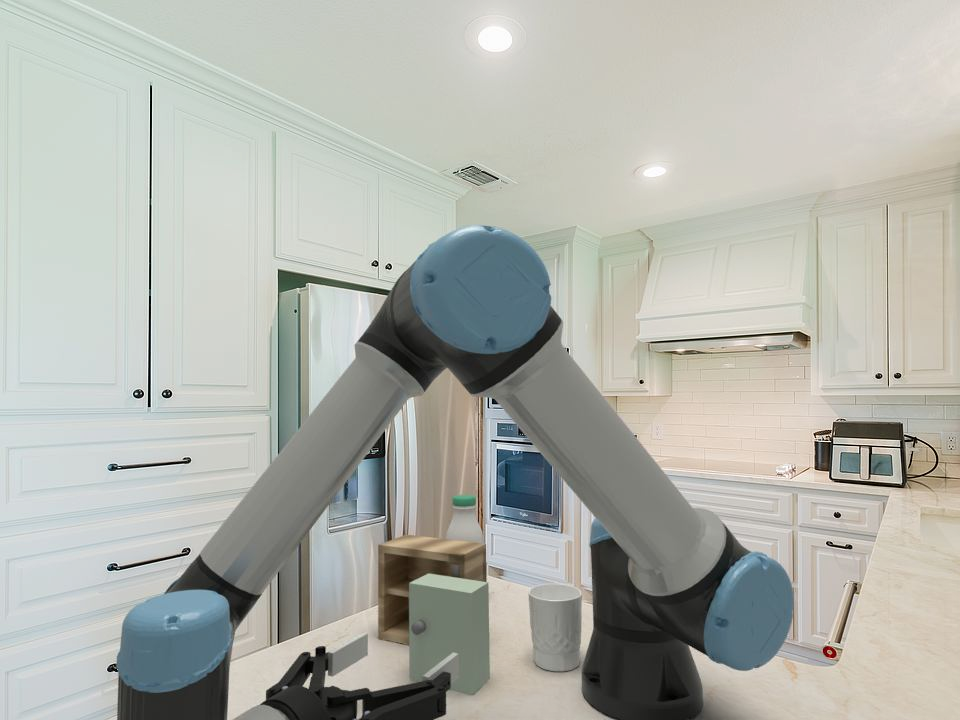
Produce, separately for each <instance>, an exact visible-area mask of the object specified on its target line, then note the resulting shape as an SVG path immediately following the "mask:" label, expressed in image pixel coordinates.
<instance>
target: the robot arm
mask: <svg viewBox="0 0 960 720" xmlns="http://www.w3.org/2000/svg"><path fill="white" fill-rule="evenodd" d="M551 284H552V283H551V278H550V276H549V273H548V270H547V268H546V265H545V264H544V261H543V260H542V259H541V257H540V256H539V254H538V253H537V251H536V250H535V249H534V248H533V247H532V246H531V245H530V244H529V243H528V242H527V241H525V239H523V238H521V237H520V236H518V235H517V234H515V233H513V232H512V231H509V230H507V229H504V228H501V227H498V226H493V225H491V226H490V225H486V224H484V225H482V224H474V225H466V226H462V227H459V228H456V229H454V230H451V232H448V233H446V234H445V235H443V236H441V237H440V238H438V239H437V240H436V241H433V242H432V243H430V244H428V246H427V248H425V250H424V251H423V252H422V253H421V254H419V255H418V257H417V258H416V260H415V261H414V262H413V263H411V265H410V266H409V267H408V268H407V269H406V270H404V271H403V273H402V274H401V275H400V276H399V277H398V278H397V280H396V281H395V283H394V285H393V286H392V288H391V290H390V291H389V293H388V294H387V296H386V298H385V299H384V302H383V303H382V305H381V306H380V309H379V310H378V312H377V313H376V315H375V316H374V318H373V320H371V323H370V324H369V325H368V327H367V328H366V329H365V331H364V332H363V334H362V335H361V336H360V337H359V339H358V340H357V341H356V342H355V343H354V345H353V346H354V352H355V353H354V354H355V358H354V359H353V360H352V361H351V363H350V365H349V366H348V367H347V368H346V369H345V371H344V372H343V373H342V374H341V376H339V378H338V379H337V381H335V383H334V384H333V385H332V386H331V388H330V389H329V391H328V392H327V393H326V395H325V396H324V397H323V398H322V399H321V400H320V401H319V403H318V404H317V406H316V407H315V408H314V409H313V410H312V412H311V413H310V415H309V416H308V417H307V418H306V419H305V420H304V422H303V423H302V424H301V425H300V427H299V428H298V429H297V431H296V432H295V433H294V434H293V436H292V437H290V440H289V441H287V443H286V444H285V445H284V447H283V448H282V449H281V451H280V452H279V453H278V454H277V456H276V457H275V458H274V459H273V460H272V462H271V463H270V464H269V465H268V467H266V469H265V470H264V472H263V473H262V474H261V476H259V478H258V479H257V481H256V482H255V483H254V484H253V486H251V488H250V489H249V491H247V493H246V494H245V495H244V496H243V498H242V499H241V501H240V502H239V503H238V504H237V505H236V507H235V508H234V509H233V511H232V512H231V513H230V514H229V515H228V517H227V518H226V519H225V521H223V523H222V524H221V525H220V526H219V528H218V529H217V531H215V533H214V534H213V535H212V537H211V538H210V539H209V540H208V541H207V543H206V544H205V545H204V547H203V548H201V550H200V552H199V554H198V555H197V557H195V559H194V560H193V561H192V562H191V563H190V564H189V566H188V567H187V568H186V569H185V571H183V573H182V574H181V576H180V577H178V578H177V579H176V580H174V581H173V582H171V584H170V585H169V587H168V588H167V589H166V590H165V592H163V594H160V595H157V596H154V597H150V598H148V599H146V600H145V601H144V602H141V603H139V604H137V605H135V606H133V607H132V608H131V609H130V610H129V611H128V613H127V614H125V617H124V619H123V621H122V625H121V636H120V643H119V644H120V646H119V651H118V653H117V654H116V664H115V667H116V668H117V676H118V679H117V681H118V682H117V710H116V711H117V712H116V713H117V715H116V720H228V709H229V689H230V687H229V684H230V669H231V668H230V667H231V661H232V652H233V645H234V640H235V635H236V634H235V633H236V631H237V629H238V628H239V627H240V626H241V624H242V623H243V622H244V620H245V619H246V617H247V616H248V615H249V613H250V612H251V611H252V610H253V608H254V606H255V605H256V603H257V602H258V600H259V599H260V598H261V596H262V595H263V593H264V592H265V591H266V589H267V588H268V586H269V585H270V584H271V583H272V581H273V579H275V577H276V576H277V574H278V573H280V570H281V569H282V568H283V567H284V566H285V564H286V563H287V561H288V560H289V559H290V557H291V556H292V554H293V553H294V552H295V551H296V549H297V548H298V546H300V544H301V543H302V541H303V540H304V539H305V538H306V536H307V535H308V533H309V532H310V531H311V529H312V528H313V527H314V525H315V524H316V523H317V521H318V519H320V517H321V516H322V514H323V513H324V512H325V510H326V509H327V508H328V507H329V506H330V504H331V503H332V501H333V500H334V499H335V498H336V496H337V495H338V494H339V492H340V491H341V490H342V488H343V487H344V485H345V484H346V483H347V481H348V480H349V479H350V477H351V476H352V475H353V474H354V472H355V471H356V469H358V467H359V466H360V464H361V463H362V461H363V460H364V459H365V457H367V455H368V453H369V452H370V451H371V449H372V448H373V447H374V446H375V444H376V443H377V442H378V440H379V439H380V438H381V436H382V435H383V433H384V432H385V431H386V430H387V428H388V427H389V426H390V424H391V423H392V421H394V419H395V417H396V416H397V415H398V414H399V413H400V411H401V410H402V408H403V407H404V406H405V404H406V403H407V402H408V400H410V399H411V398H416V397H418V398H419V397H422V396H423V395H424V394H425V392H427V390H428V388H429V387H430V386H431V384H432V383H433V382H434V381H435V379H436V378H438V376H440V375H441V374H442V373H443V372H444V371H445V370H446V369H448V370H449V371H450V373H451V374H452V375H454V377H455V378H456V380H457V381H459V382H460V384H461V386H463V388H464V389H466V391H467V392H468V393H469V395H470V396H472V397H476V398H489V399H492V400H493V399H494V400H495V401H496V403H497V404H499V406H500V407H501V408H502V410H503V411H504V412H505V413H506V414H507V416H508V417H510V419H511V420H512V422H513V423H514V424H515V425H516V426H517V427H518V428H519V430H520V432H522V433H523V434H524V435H525V437H526V438H527V439H528V440H529V441H530V442H531V444H532V446H534V447H535V449H537V451H538V452H539V453H540V454H541V455H542V456H543V458H544V459H545V460H546V461H547V463H548V464H549V465H550V466H551V467H552V469H554V471H555V472H556V473H557V474H558V475H559V477H560V478H561V479H562V480H563V481H564V483H566V485H567V486H568V488H569V489H571V491H572V492H573V493H574V494H575V495H576V497H577V498H578V499H579V500H580V501H581V502H582V504H583V505H584V506H585V507H586V508H587V509H588V510H589V513H591V514H592V515H593V517H594V520H593V521H592V522H591V527H590V537H589V545H588V546H589V548H590V563H591V565H590V566H591V567H590V568H591V589H592V592H591V593H592V619H593V620H592V621H593V629H592V633H591V636H590V640H589V643H588V646H587V650H586V654H585V657H584V661H583V664H582V666H581V673H580V674H581V693H582V695H583V696H584V698H585V699H586V701H587V702H588V703H589V704H590V705H592V706H593V707H594V708H595V709H597V710H598V711H599V712H602V713H604V714H606V715H607V716H610V717H612V718H615V719H618V720H687V719H689V720H691V719H693V718H694V716H695V715H696V716H697V715H698V714H700V712H701V711H702V708H703V707H704V706H703V705H704V696H703V694H704V693H703V683H702V679H701V676H700V673H699V671H698V668H697V665H696V662H695V659H694V657H693V654H692V651H691V649H690V647H691V648H693V649H694V650H695V651H698V652H699V653H702V654H703V655H705V656H707V657H708V658H709V660H711V661H712V662H714V663H715V664H719V665H721V664H722V665H725V666H726V667H729V668H730V669H733V670H736V671H741V672H747V671H751V670H754V669H759V668H761V667H763V666H765V665H766V664H768V663H769V662H770V661H771V660H773V658H774V657H776V655H777V654H778V653H779V651H780V650H781V648H782V647H783V645H784V644H785V641H786V639H787V638H788V635H789V633H790V630H791V627H792V621H793V619H794V618H793V617H794V614H793V613H794V612H793V611H794V607H795V600H794V599H795V598H794V590H793V586H792V581H791V579H790V577H789V575H788V573H787V571H786V569H785V568H784V566H782V565H781V563H779V562H778V561H777V560H776V559H774V558H772V557H770V556H768V555H767V554H766V553H764V552H760V551H751V550H749V549H747V548H746V547H745V546H743V545H742V544H741V543H740V542H739V541H738V539H737V538H736V536H734V534H733V533H732V532H731V530H730V529H729V527H727V525H726V524H725V523H724V522H723V521H722V519H721V518H720V517H719V516H718V515H717V514H716V513H714V512H713V511H711V510H710V509H706V508H703V507H702V508H701V507H693V506H692V505H691V504H690V503H689V501H688V500H687V499H686V498H685V496H684V494H682V493H681V491H680V490H679V489H678V488H677V486H675V484H674V483H673V482H672V480H671V479H670V478H669V476H668V475H667V473H665V472H664V470H663V469H662V468H661V466H660V465H659V464H658V463H657V462H656V460H655V458H654V457H653V456H652V455H651V454H650V453H649V452H648V450H647V449H646V448H645V447H644V445H643V444H642V442H640V440H639V439H638V438H637V436H636V435H635V434H634V433H633V432H632V430H631V429H630V428H629V426H628V425H627V424H626V423H625V421H624V420H623V419H622V418H621V417H620V416H619V414H618V413H617V411H615V409H614V408H613V407H612V406H611V404H610V403H609V402H608V401H607V399H606V398H605V397H604V395H603V394H602V393H601V392H600V391H599V389H598V388H597V387H596V386H595V385H594V383H593V382H592V380H591V379H590V378H589V377H588V376H587V375H586V373H585V371H583V369H582V368H581V366H580V365H579V364H578V363H577V361H576V360H574V358H573V357H572V356H571V354H570V353H569V352H568V351H567V349H566V348H565V347H564V346H563V344H562V335H563V330H564V329H563V328H564V321H563V319H562V318H561V317H560V315H559V314H558V313H557V312H556V311H555V309H554V308H553V306H552V295H551V294H550V286H551ZM368 640H369V633H367V632H362V633H360V634H358V635H356V636H355V637H353V638H351V639H348V641H345V642H343V643H342V644H340V645H338V646H336V647H334V648H332V649H330V650H329V651H327V647H326V646H324V645H321V646H316V647H315V650H314V651H315V652H314V656H312V655H311V654H312V653H311V652H310V651H304V652H301V653H300V654H299V655H298V656H297V658H296V659H295V661H294V662H293V663H292V664H291V665H290V667H288V669H287V671H285V673H284V675H283V676H282V677H281V678H280V680H279V681H278V682H277V683H275V684H274V685H272V686H271V687H269V688H268V689H266V691H265V700H264V701H263V702H261V703H259V704H257V705H255V706H252V707H251V708H250V709H247V710H246V711H244V712H242V713H241V714H239V715H238V716H236V717H234V718H232V720H437V719H439V718H441V717H445V716H446V715H447V692H448V691H450V690H449V689H450V688H451V684H452V683H453V682H454V681H455V680H456V679H458V678H459V660H458V654H457V653H452V654H450V655H449V656H448V657H447V658H445V659H444V660H443V661H441V662H440V663H439V664H438V665H436V666H435V667H434V668H432V669H431V670H430V671H428V672H427V673H426V674H425V675H423V681H422V682H418V681H416V682H414V683H413V682H412V683H408V684H403V685H399V686H398V685H397V686H393V687H388V688H383V689H378V690H373V691H372V690H370V689H369V688H368V687H363V688H358V689H352V690H347V689H341V688H340V687H337V686H335V685H331V686H325V684H326V683H325V682H326V672H327V676H328V677H332V678H333V677H335V676H337V675H338V674H339V673H341V672H342V671H345V670H346V669H348V668H349V667H351V666H352V665H354V664H355V663H357V662H359V661H361V660H362V659H363V658H366V657H367V656H368V654H369V653H368V652H369V651H368V649H369V648H368V647H369V644H368V643H369V641H368ZM326 651H327V652H326ZM310 676H311V677H310ZM309 678H310V681H309V685H308V688H307V687H305V686H304V685H305V683H306V682H307V680H308V679H309ZM360 700H361V701H362V703H361V704H362V707H361V709H362V710H361V711H362V712H361V713H362V715H361V717H360V718H357V716H358V701H360ZM696 716H695V717H696ZM692 717H693V718H692ZM690 718H691V719H690Z"/></svg>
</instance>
